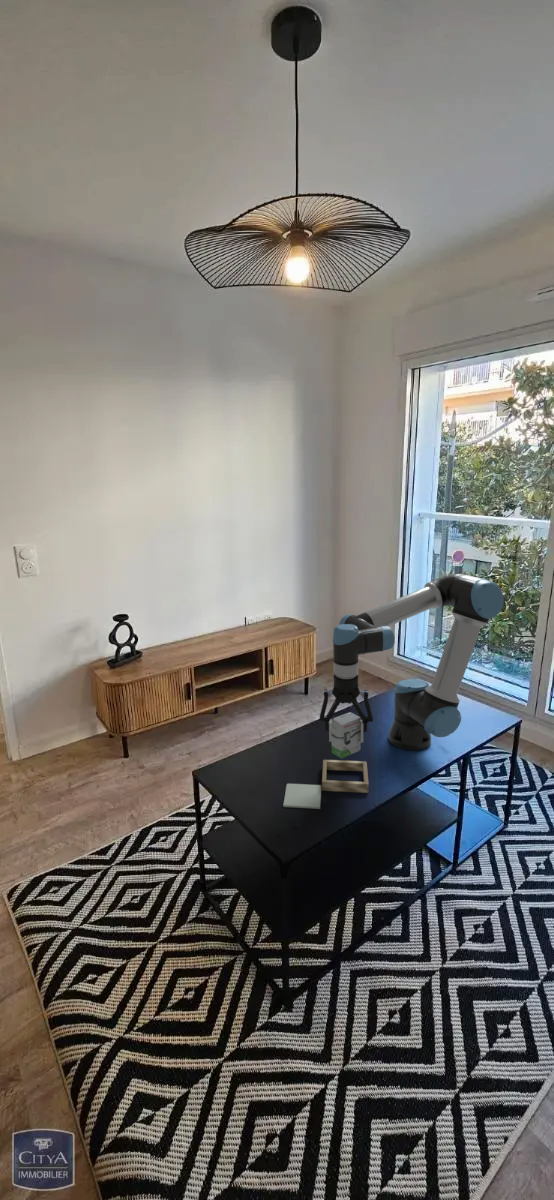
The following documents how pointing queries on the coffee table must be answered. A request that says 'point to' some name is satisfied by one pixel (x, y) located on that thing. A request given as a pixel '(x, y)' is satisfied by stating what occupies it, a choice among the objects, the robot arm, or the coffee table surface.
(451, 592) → the robot arm
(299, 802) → the tile
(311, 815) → the coffee table surface
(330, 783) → the pocket
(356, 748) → the ink box
